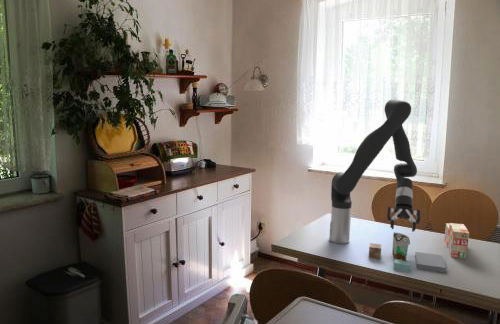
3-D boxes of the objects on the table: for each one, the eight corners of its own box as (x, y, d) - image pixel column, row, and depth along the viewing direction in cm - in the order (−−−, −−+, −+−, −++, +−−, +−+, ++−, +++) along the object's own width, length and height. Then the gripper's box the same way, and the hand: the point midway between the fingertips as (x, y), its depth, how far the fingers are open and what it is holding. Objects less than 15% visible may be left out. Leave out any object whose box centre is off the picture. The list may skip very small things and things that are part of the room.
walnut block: (368, 257, 182) (369, 246, 181) (369, 253, 186) (369, 243, 186) (380, 259, 180) (381, 248, 179) (380, 255, 185) (381, 244, 184)
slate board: (416, 268, 172) (417, 263, 171) (414, 255, 185) (415, 251, 184) (445, 272, 168) (446, 267, 168) (441, 259, 181) (442, 255, 181)
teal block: (393, 269, 171) (393, 262, 170) (394, 265, 174) (395, 259, 174) (408, 272, 168) (409, 265, 168) (409, 268, 172) (410, 262, 171)
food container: (410, 265, 174) (412, 242, 173) (395, 264, 175) (397, 241, 174) (406, 254, 186) (407, 233, 184) (391, 253, 187) (393, 231, 186)
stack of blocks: (443, 241, 204) (446, 217, 202) (457, 242, 203) (460, 218, 200) (450, 257, 184) (453, 230, 182) (466, 259, 182) (469, 232, 180)
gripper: (388, 193, 193) (386, 224, 185) (421, 196, 189) (420, 227, 180) (387, 201, 199) (385, 231, 191) (419, 204, 195) (419, 235, 186)
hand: (402, 229), depth 185 cm, fingers open, 8 cm apart
